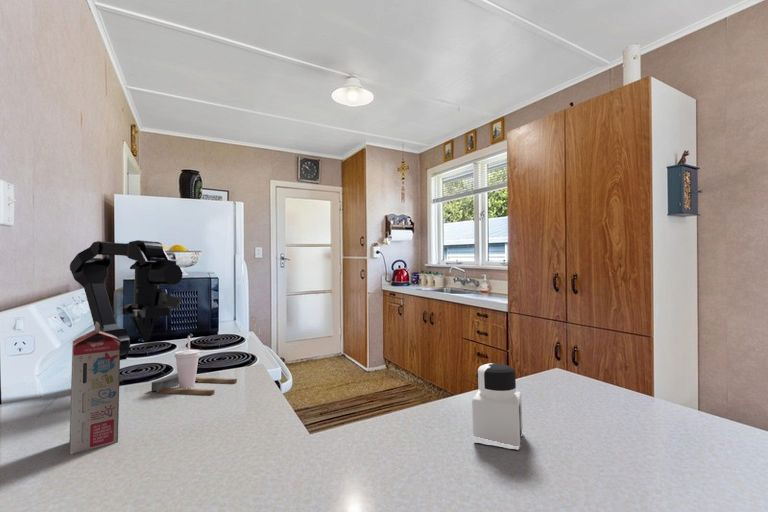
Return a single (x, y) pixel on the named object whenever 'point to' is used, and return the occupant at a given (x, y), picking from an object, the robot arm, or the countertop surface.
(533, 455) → the countertop surface
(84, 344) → the juice carton
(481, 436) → the container
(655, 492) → the countertop surface
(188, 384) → the smoothie
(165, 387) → the guide track
